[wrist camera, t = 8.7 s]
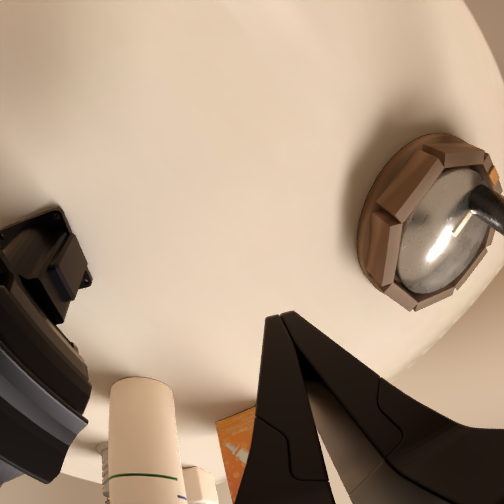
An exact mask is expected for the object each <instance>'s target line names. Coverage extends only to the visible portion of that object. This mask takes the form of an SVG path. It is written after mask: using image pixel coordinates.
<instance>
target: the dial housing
mask: <svg viewBox="0 0 504 504" xmlns="http://www.w3.org/2000/svg"><path fill="white" fill-rule="evenodd" d="M458 166H465V167H468V168H470V169H472V170H474V171H476V172H477V173H479V174H480V175H481V176H482V177H483V178H484V180H485V181H486V183H487V185H488V187H489V188H490V189H492V190H494V191H496V192H497V193H499V194H501V193H502V191H503V190H502V187H501V185H500V182H499V176H498V173H497V171H496V169H495V166H493V163H492V161H491V158H490V156H489V154H488V153H485V151H484V150H482V149H480V148H477V147H475V146H472V145H470V144H468V143H467V142H465V141H463V140H461V139H459V138H457V137H454V136H451V135H448V134H442V133H435V134H428V135H425V136H422V137H419V138H417V139H415V140H413V141H411V142H410V143H409V144H407V145H406V146H404V147H403V148H402V149H401V150H400V151H399V152H397V153H396V154H395V155H394V156H393V157H392V158H391V160H390V161H389V162H388V163H387V164H386V165H385V167H384V168H383V170H382V171H381V173H380V174H379V175H378V177H377V179H376V180H375V182H374V184H373V186H372V188H371V190H370V192H369V194H368V196H367V199H366V201H365V204H364V207H363V210H362V213H361V217H360V221H359V226H358V234H357V252H358V259H359V262H360V266H361V268H362V270H363V272H364V274H365V276H366V277H367V278H368V280H369V281H370V282H371V283H372V284H373V286H374V287H375V288H377V289H378V290H379V291H380V292H382V293H384V294H386V295H387V296H389V297H390V298H391V299H393V300H394V301H396V302H397V303H398V304H400V305H401V306H403V307H404V308H405V309H407V310H408V311H409V312H410V311H411V310H412V309H413V310H414V311H415V312H416V311H418V310H420V309H423V308H425V307H427V306H429V305H432V304H434V303H436V302H438V301H440V300H442V299H445V298H447V297H449V296H451V295H452V294H453V291H454V288H456V289H457V290H458V289H459V288H460V287H461V286H462V284H463V283H464V282H465V281H466V280H467V278H468V277H469V276H470V274H471V273H472V272H473V271H474V269H475V268H476V267H477V265H478V264H479V263H480V261H481V260H482V259H483V257H484V256H485V255H486V253H487V252H488V251H487V249H486V247H487V246H489V245H491V243H492V240H493V236H494V232H495V229H494V228H492V227H491V226H489V225H488V227H487V230H486V233H485V236H484V239H483V241H482V243H481V245H480V247H479V249H478V251H477V253H476V254H475V256H474V257H473V259H472V260H471V262H470V263H469V264H468V266H467V267H466V268H465V269H464V270H463V271H462V273H461V274H460V275H459V276H458V277H456V278H455V279H454V280H453V281H452V282H450V283H449V284H448V285H446V286H444V287H443V288H441V289H439V290H437V291H434V292H430V293H424V294H420V293H415V292H413V291H411V290H409V289H408V288H407V287H406V286H405V285H404V284H403V283H402V281H401V280H400V279H399V278H398V277H397V276H396V275H395V270H396V265H397V259H398V253H399V246H400V239H401V232H402V225H403V222H404V221H405V220H406V219H407V217H408V216H409V215H410V214H411V212H412V211H413V210H414V208H415V207H416V206H417V205H418V203H419V202H420V201H421V199H422V198H423V197H424V195H425V194H426V193H427V191H428V190H429V189H430V187H431V186H432V185H433V183H434V182H435V180H436V179H437V178H438V176H439V175H440V174H441V172H442V171H443V169H444V168H450V167H458Z"/></svg>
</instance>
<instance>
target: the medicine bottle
mask: <svg viewBox="0 0 504 504" xmlns="http://www.w3.org/2000/svg"><path fill="white" fill-rule="evenodd" d="M182 473H183V479H184V486H185V492H186V497H187V500H186V501H187V503H188V504H218V503H219V501H218V496H217V492H216V488H215V483H214V478H213V474H211V473H209V472H207V471H205V470H203V469H201V468H198V467H191V468H186V469H182Z"/></svg>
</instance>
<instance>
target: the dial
mask: <svg viewBox="0 0 504 504" xmlns="http://www.w3.org/2000/svg"><path fill="white" fill-rule="evenodd" d="M488 225H489V226H491V227H492V228H494V229H495V230H496V231H498V232H499V233H501V234H502V235H503V236H504V196H503V195H501V194H499V193H497V192H496V191H494V190H492V189H490V188H489V187H488V185H487V183H486V181H485V180H484V178H483V177H482V176H481V175H480V174H479V173H477V172H476V171H474V170H472V169H470V168H468V167H465V166H458V167H450V168H444V169H443V171H442V172H441V174H440V175H439V176H438V178H437V179H436V180H435V182H434V183H433V185H432V186H431V187H430V189H429V190H428V191H427V193H426V194H425V195H424V197H423V198H422V199H421V201H420V202H419V203H418V205H417V206H416V207H415V208H414V210H413V211H412V212H411V214H410V215H409V216H408V217H407V219H406V220H405V221H404V222H403V225H402V232H401V239H400V246H399V253H398V259H397V265H396V270H395V275H396V276H397V277H398V278H399V279H400V280H401V281H402V283H403V284H404V285H405V286H406V287H407V288H408V289H409V290H411V291H413V292H415V293H420V294H424V293H430V292H434V291H437V290H439V289H441V288H443V287H444V286H446V285H448V284H449V283H450V282H452V281H453V280H454V279H455V278H456V277H458V276H459V275H460V274H461V273H462V271H463V270H464V269H465V268H466V267H467V266H468V264H469V263H470V262H471V260H472V259H473V257H474V256H475V254H476V253H477V251H478V249H479V247H480V245H481V243H482V241H483V239H484V236H485V233H486V230H487V227H488Z"/></svg>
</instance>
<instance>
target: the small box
mask: <svg viewBox="0 0 504 504" xmlns="http://www.w3.org/2000/svg"><path fill="white" fill-rule="evenodd" d="M255 409H256V406H255V407H253V408H251V409H248V410H246V411H244V412H241V413H239V414H236V415H234V416H231V417H229V418H226V419H223V420H220V421H217V422H216V428H217V433H218V438H219V443H220V449H221V454H222V458H223V463H224V467H225V472H226V477H227V481H228V485H229V490H230V494H231V498H232V502H233V504H234V501H235V498H236V495H237V492H238V489H239V485H240V482H241V479H242V475H243V472H244V469H245V465H246V462H247V458H248V454H249V450H250V445H251V439H252V432H253V425H254V418H255Z"/></svg>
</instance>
